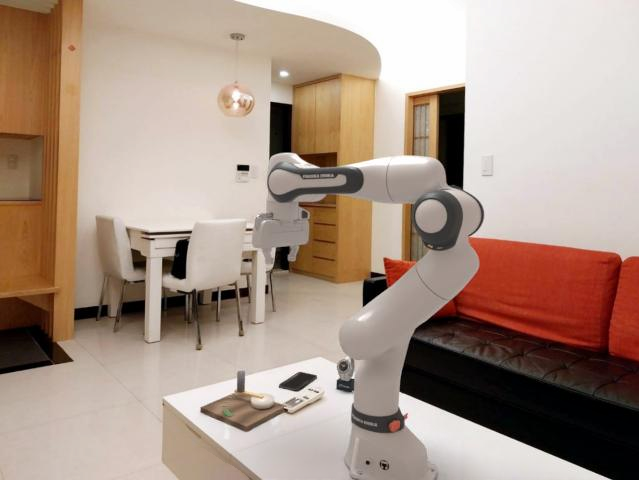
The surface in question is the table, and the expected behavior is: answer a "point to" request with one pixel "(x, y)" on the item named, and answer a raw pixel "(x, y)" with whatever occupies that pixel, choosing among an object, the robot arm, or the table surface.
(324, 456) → the table surface
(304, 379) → the phone
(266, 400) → the dial knob with pointer
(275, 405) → the gauge panel
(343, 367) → the watch
